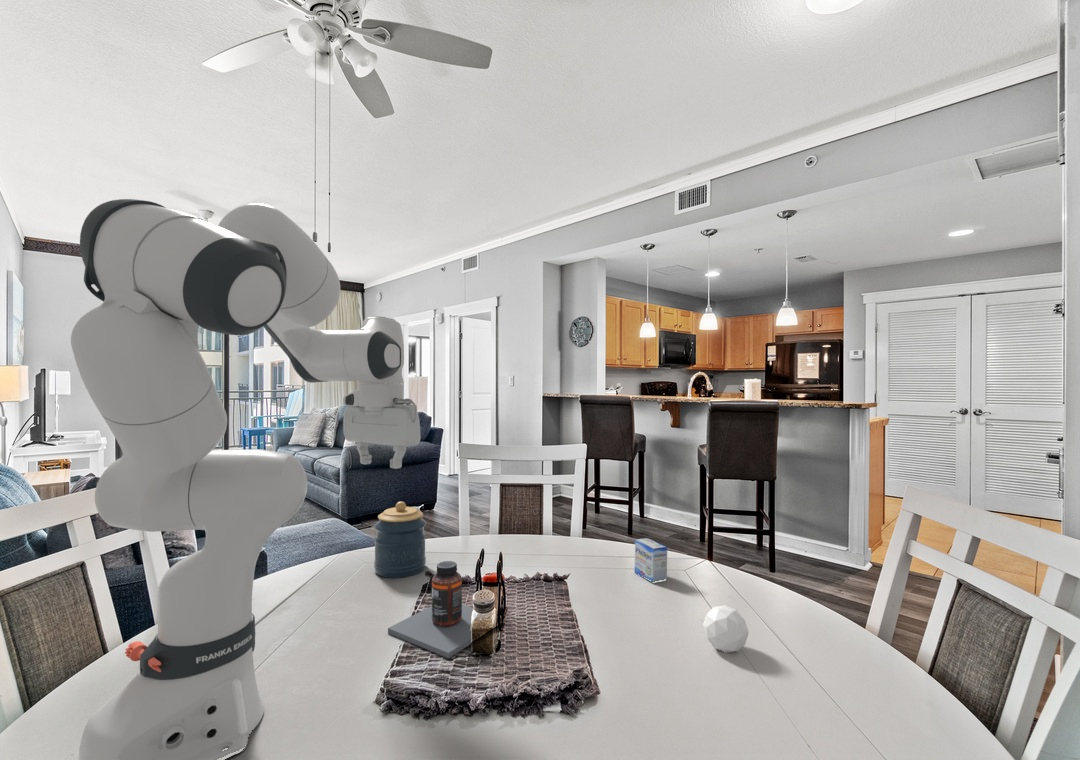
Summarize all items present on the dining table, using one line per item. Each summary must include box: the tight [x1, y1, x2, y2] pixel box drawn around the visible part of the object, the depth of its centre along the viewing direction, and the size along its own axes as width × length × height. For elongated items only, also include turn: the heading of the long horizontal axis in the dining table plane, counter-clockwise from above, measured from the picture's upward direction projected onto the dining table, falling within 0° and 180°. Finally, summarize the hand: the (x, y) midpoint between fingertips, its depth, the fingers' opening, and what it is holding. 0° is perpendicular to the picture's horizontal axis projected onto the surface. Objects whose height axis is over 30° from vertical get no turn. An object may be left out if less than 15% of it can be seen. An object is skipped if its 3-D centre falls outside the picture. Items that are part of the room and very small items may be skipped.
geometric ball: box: [702, 604, 749, 653], centre depth 93 cm, size 8×8×8 cm
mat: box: [387, 603, 472, 659], centre depth 100 cm, size 16×16×1 cm
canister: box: [373, 501, 427, 579], centre depth 131 cm, size 13×13×18 cm
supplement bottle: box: [431, 560, 463, 626], centre depth 101 cm, size 6×6×11 cm
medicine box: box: [633, 538, 668, 582], centre depth 127 cm, size 8×4×9 cm, turn 25°
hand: (380, 465), depth 102 cm, fingers open, 8 cm apart
